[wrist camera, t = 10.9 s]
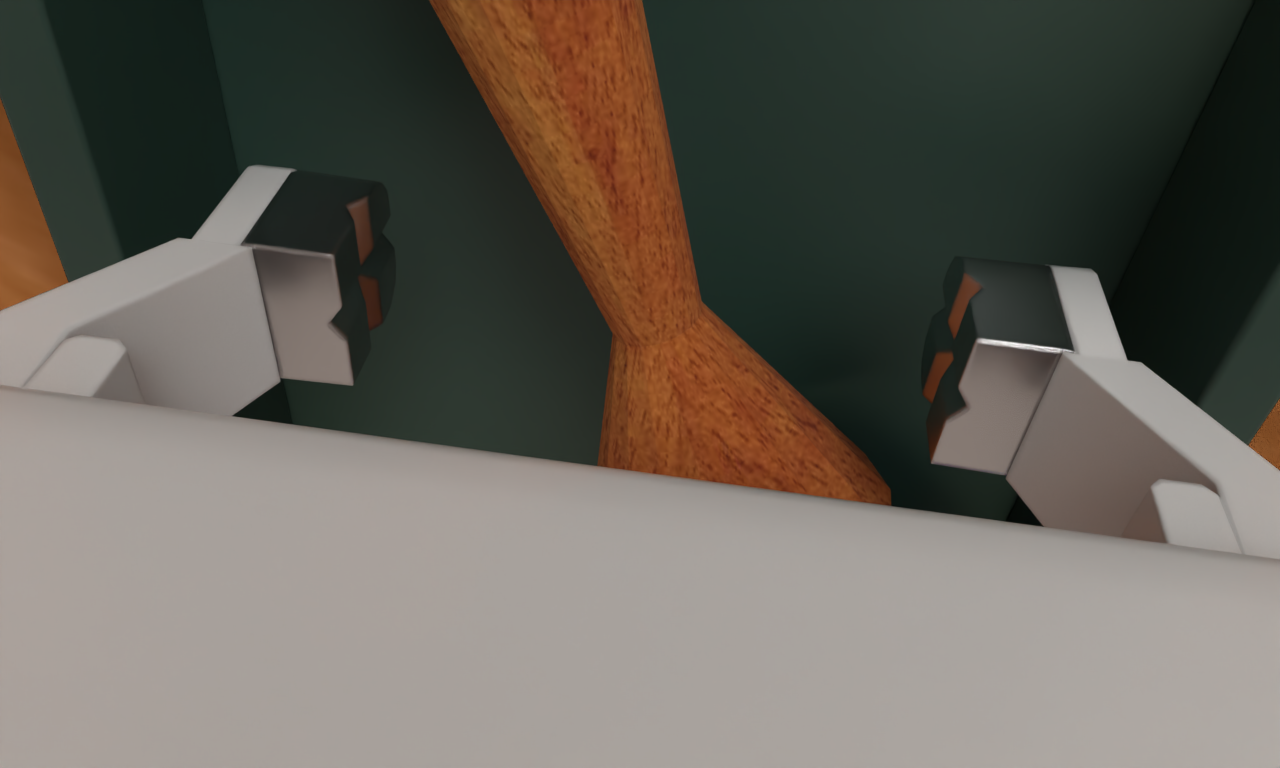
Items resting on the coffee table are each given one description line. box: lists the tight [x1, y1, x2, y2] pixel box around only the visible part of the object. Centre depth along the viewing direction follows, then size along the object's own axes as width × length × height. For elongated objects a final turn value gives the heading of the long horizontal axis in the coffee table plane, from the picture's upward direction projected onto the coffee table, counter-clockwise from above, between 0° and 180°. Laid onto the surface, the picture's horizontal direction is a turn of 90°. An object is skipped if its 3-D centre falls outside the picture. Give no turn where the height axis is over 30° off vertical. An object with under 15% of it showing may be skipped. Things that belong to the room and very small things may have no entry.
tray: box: [0, 0, 1280, 527], centre depth 13 cm, size 26×14×4 cm, turn 176°
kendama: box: [429, 0, 891, 506], centre depth 12 cm, size 6×6×20 cm
